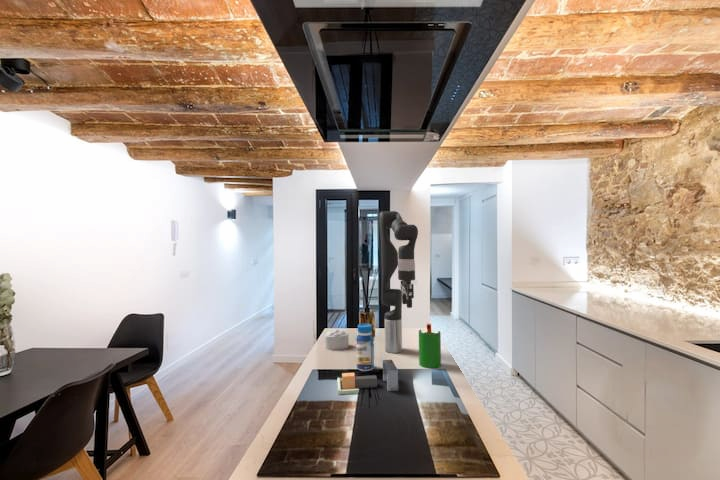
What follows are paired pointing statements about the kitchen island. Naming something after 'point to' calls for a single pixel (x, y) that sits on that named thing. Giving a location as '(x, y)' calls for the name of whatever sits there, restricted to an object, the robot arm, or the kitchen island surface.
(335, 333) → the lumpy-topped squat cylinder
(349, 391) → the light grey u-shaped piece
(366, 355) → the beverage bottle
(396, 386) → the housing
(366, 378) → the plug
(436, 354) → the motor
